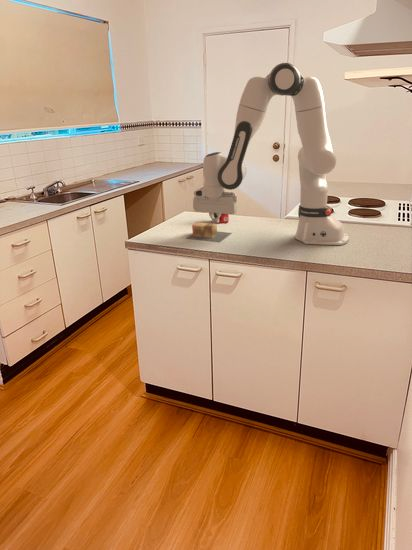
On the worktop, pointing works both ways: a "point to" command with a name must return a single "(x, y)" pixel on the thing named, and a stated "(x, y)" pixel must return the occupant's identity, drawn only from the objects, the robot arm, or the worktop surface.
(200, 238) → the slate mat
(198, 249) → the worktop surface
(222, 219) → the canned food
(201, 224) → the oak block
